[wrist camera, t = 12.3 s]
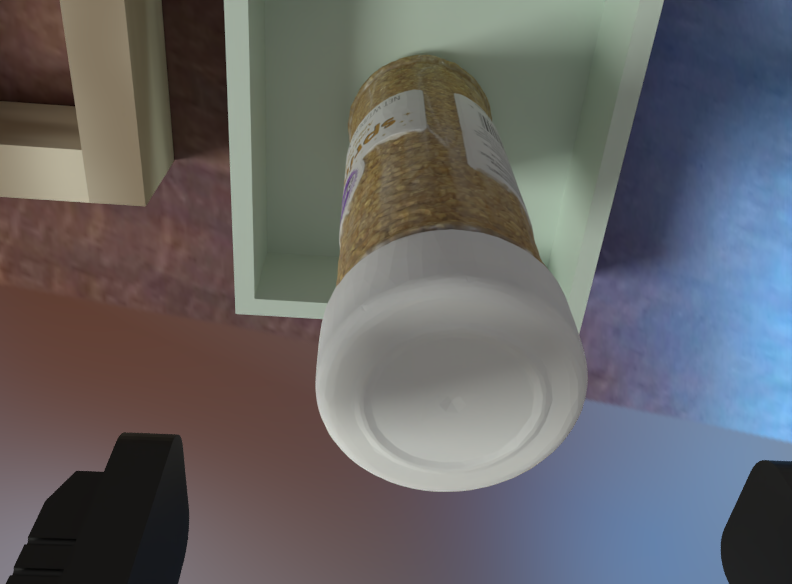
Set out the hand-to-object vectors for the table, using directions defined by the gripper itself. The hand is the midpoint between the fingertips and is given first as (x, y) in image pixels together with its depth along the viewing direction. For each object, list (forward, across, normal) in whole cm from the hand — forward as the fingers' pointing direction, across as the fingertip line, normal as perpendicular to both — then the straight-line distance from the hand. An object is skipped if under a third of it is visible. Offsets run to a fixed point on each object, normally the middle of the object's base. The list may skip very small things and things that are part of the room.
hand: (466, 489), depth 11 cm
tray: (+16, 0, 0) cm, 16 cm away
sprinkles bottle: (+15, 0, 0) cm, 16 cm away
